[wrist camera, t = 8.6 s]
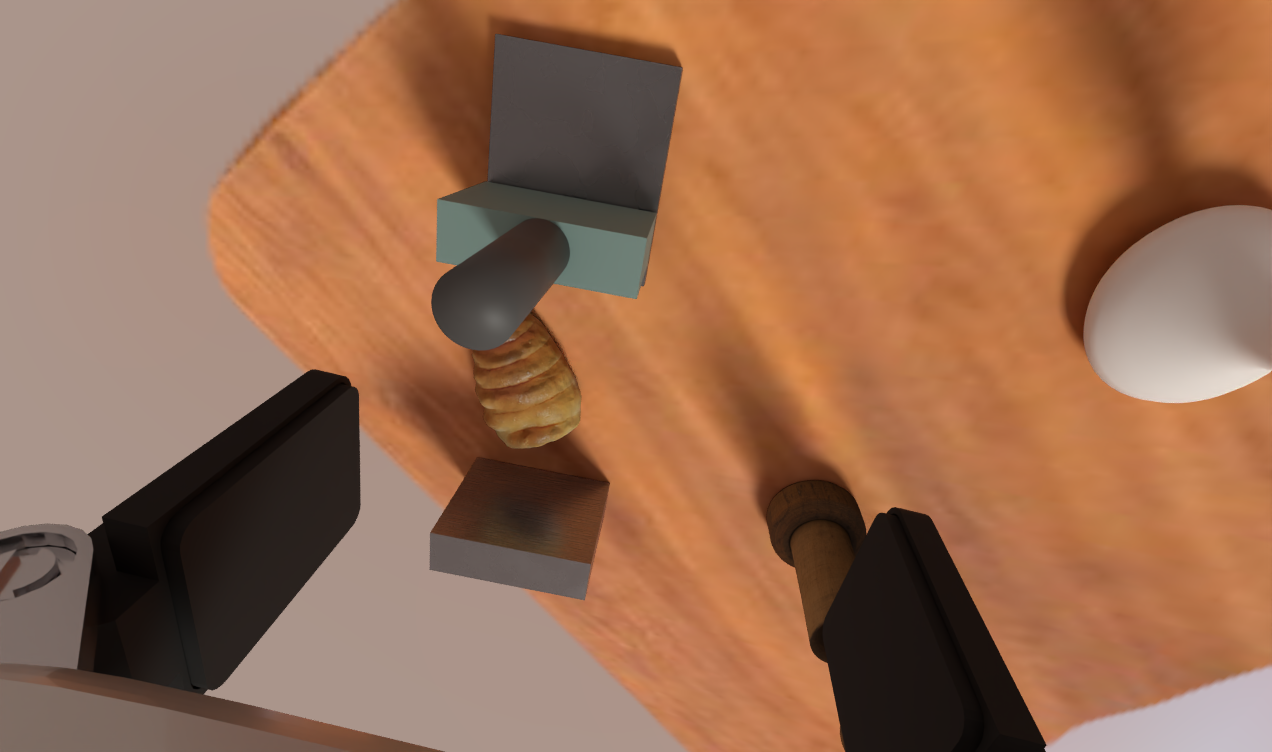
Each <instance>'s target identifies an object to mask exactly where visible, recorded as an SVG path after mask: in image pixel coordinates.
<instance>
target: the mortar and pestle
mask: <svg viewBox="0 0 1272 752" xmlns="http://www.w3.org/2000/svg"><path fill="white" fill-rule="evenodd" d="M767 524H768V529H769V534H770V539H771V543H772V546H773V548H774V550H775V552H776V553H777V555H778V556H779V557H780V558H781V559H782V560H783V561H784V562H786V563H787V564H789V565H790V566H792V567H795V569H796V574H797V579H798V583H799V588H800V593H801V598H802V604H803V609H804V614H805V619H806V625H807V630H808V636H809V641H810V646H811V649H812V651H813V653H814V654H815V655H816V656H817V657H818V658H819V659H820V660H822V661H824V662H826V663H828V662H827V657H826V652H825V647H824V642H823V623H824V619H825V617H826V614H827V612H828V611H829V609H830V607H831V605H832V603H833V601H834V599H835V597H836V595H837V593H838V591H839V589H840V587H841V585H842V583H843V581H844V579H845V577H846V575H847V573H848V571H849V569H850V567H851V565H852V563H853V561H854V559H855V557H856V555H857V553H858V551H859V549H860V547H861V545H862V543H863V541H864V539H865V537H866V527H865V523H864V520H863V518H862V515H861V512H860V509H859V507H858V504H857V503H856V501H855V499H854V498H853V497H852V495H851V494H850V493H849V492H847V491H846V490H845V489H843V488H841V487H839V486H837V485H835V484H833V483H829V482H825V481H804V482H799V483H795V484H793V485H790V486H788V487H786V488H785V489H783V490H782V491H781V492H779V493H778V494H777V495H776V496H775V497H774V498H773V500H772V501H771V503H770V505H769V508H768V511H767ZM840 737H841V741H842V745H843V747H844V750H845V746H844V741H843V736H842V731H841V726H840ZM845 752H846V751H845Z"/></svg>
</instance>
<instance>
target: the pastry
mask: <svg viewBox="0 0 1272 752" xmlns="http://www.w3.org/2000/svg"><path fill="white" fill-rule="evenodd" d="M472 356H473V358H474V363H475V366H474V378H475V380H476V387H475V391H476V394H477V396H478V398H479V401H480V403H481V404H482V405H483V406H484V407H485V409H484V413H483V419H484V421H485V422H486V424H487V425H488V426H489V427H490V428H492V429H494V430H496V433H497V435H498V437H499V438H500V439H501V440H502V441H503V442H505V444H506V445H507V446H508V447H511V448H514V449H518V448H532V447H539V446H542V445H544V444H546V443H548V442H551V441H556V440H558V439H560V438H561V437H563V436H565V435H567V434H568V433H569V432H571V431H572V430H573V429H574V428H576V427H577V426H578V424H579V422H580V413H581V409H580V405H581V393H580V390H579V387H578V384H577V381H576V378H575V376H574V374H573V373H572V371H571V369H570V368H569V365H568V363H567V361H566V360H565V358H564V356H563V354H562V353H561V351H560V350H559V348H558V347H557V345H556V344H555V342H554V341H553V339H552V337H551V336H550V334H549V333H548V331H547V330H546V328H545V327H544V326H543V324H542V323H541V322H540V321H539V320H538V319H537V318H536V317H534V316H533V315H532V314H531V313H529V314H528V316H527V317H526V318H525V319H524V321H523V322H522V323H521V324H520V325H519V327H518V328H517V329H516V330H515V332H514V333H513V334H512V335H511V337H510V338H509V339H508V340H507V341H506V342H505V343H503V344H502V345H500V346H499V347H496V348H494V349H490V350H473V353H472Z"/></svg>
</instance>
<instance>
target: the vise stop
mask: <svg viewBox="0 0 1272 752" xmlns="http://www.w3.org/2000/svg"><path fill="white" fill-rule="evenodd" d="M609 485H610V483H607V482H602V481H597V480H592V479H586V478H581V477H576V476H571V475H566V474H561V473H555V472H550V471H545V470H540V469H535V468H530V467H525V466H519V465H514V464H509V463H504V462H499V461H494V460H488V459H483V458H478V457H477V459H476V460H475V462H474V464H473V465H472V467H471V468H470V470H469V472H468V473H467V475H466V476H465V478H464V480H463V481H462V483H461V484H460V486H459V488H458V489H457V491H456V492H455V494H454V496H453V497H452V499H451V500H450V502H449V504H448V505H447V507H446V508H445V510H444V512H443V513H442V515H441V516H440V518H439V520H438V522H437V523H436V525H435V526H434V528H433V529H432V531H431V533H430V570H434V571H439V572H444V573H450V574H455V575H459V576H465V577H470V578H475V579H480V580H485V581H490V582H495V583H500V584H505V585H510V586H515V587H520V588H525V589H530V590H535V591H540V592H546V593H551V594H556V595H561V596H566V597H571V598H576V599H581V600H585V597H586V593H587V588H588V584H589V579H590V575H591V571H592V566H593V562H594V558H595V553H596V549H597V544H598V540H599V536H600V531H601V527H602V523H603V518H604V513H605V508H606V502H607V496H608V491H609Z"/></svg>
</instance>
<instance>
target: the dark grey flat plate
mask: <svg viewBox="0 0 1272 752" xmlns="http://www.w3.org/2000/svg"><path fill="white" fill-rule="evenodd" d="M682 71H683V68H682V67H677V66H671V65H666V64H660V63H655V62H649V61H643V60H638V59H632V58H627V57H621V56H616V55H610V54H605V53H599V52H594V51H588V50H583V49H577V48H572V47H566V46H561V45H555V44H550V43H544V42H539V41H533V40H528V39H522V38H517V37H511V36H505V35H500V34H495V51H494V70H493V89H492V108H491V127H490V146H489V165H488V182H492V183H498V184H503V185H508V186H514V187H519V188H525V189H530V190H535V191H541V192H546V193H551V194H557V195H562V196H568V197H573V198H578V199H584V200H589V201H595V202H600V203H605V204H611V205H616V206H621V207H627V208H632V209H638V210H643V211H648V212H654V213H658V207H659V201H660V196H661V190H662V184H663V178H664V173H665V167H666V161H667V156H668V150H669V144H670V139H671V133H672V127H673V122H674V116H675V110H676V105H677V99H678V93H679V88H680V82H681V76H682ZM656 218H657V214H656ZM655 224H656V220H655ZM654 230H655V225H654ZM653 235H654V231H653ZM652 241H653V237H652ZM651 247H652V242H651ZM650 252H651V248H650ZM649 258H650V254H649ZM648 264H649V260H648ZM647 269H648V265H647V268H646V271H645V274H644V277H643V280H642V284H641V286H644V285H645V281H646V275H647Z"/></svg>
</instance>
